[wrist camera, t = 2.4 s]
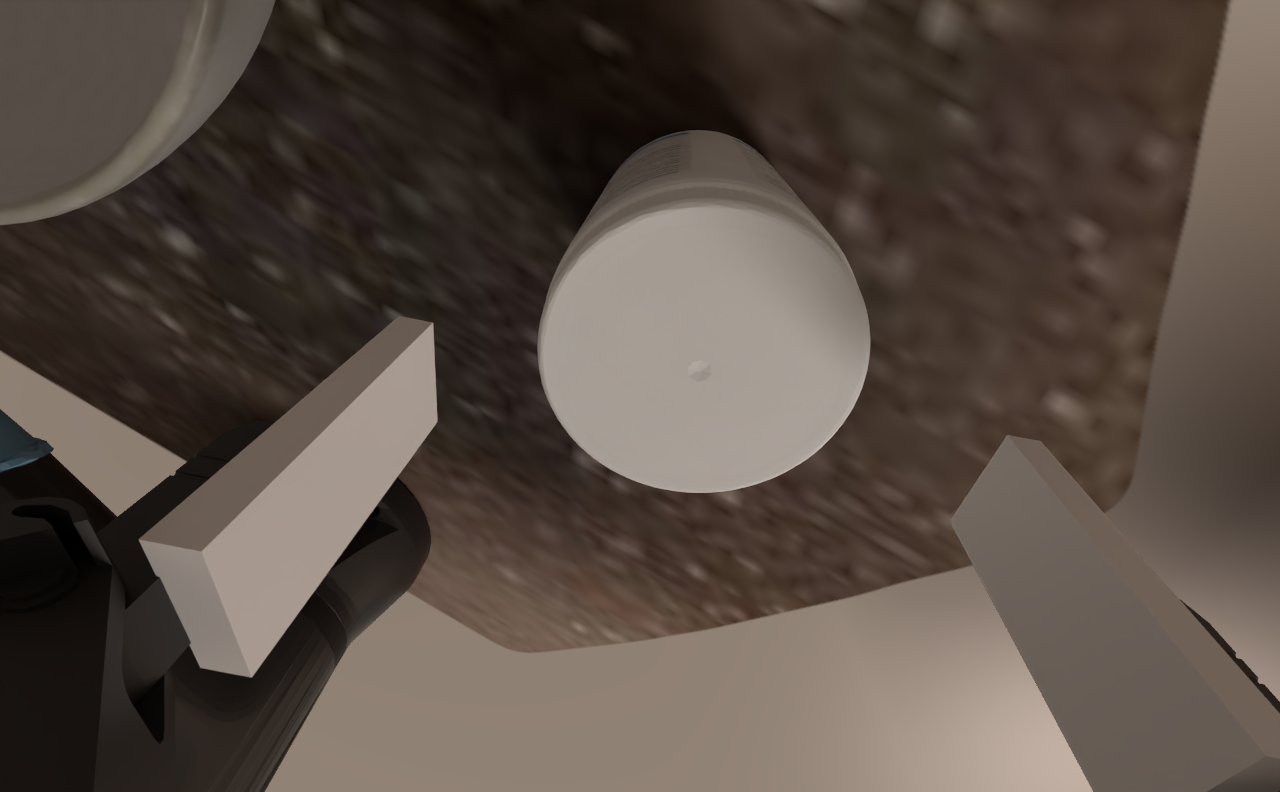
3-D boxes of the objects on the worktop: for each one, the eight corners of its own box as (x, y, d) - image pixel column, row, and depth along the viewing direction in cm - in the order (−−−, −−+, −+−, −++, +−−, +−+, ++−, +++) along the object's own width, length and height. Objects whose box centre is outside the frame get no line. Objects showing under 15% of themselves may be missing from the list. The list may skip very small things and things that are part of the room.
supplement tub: (601, 312, 30) (536, 489, 18) (597, 123, 25) (502, 185, 13) (777, 321, 30) (836, 511, 17) (808, 129, 25) (924, 201, 12)
